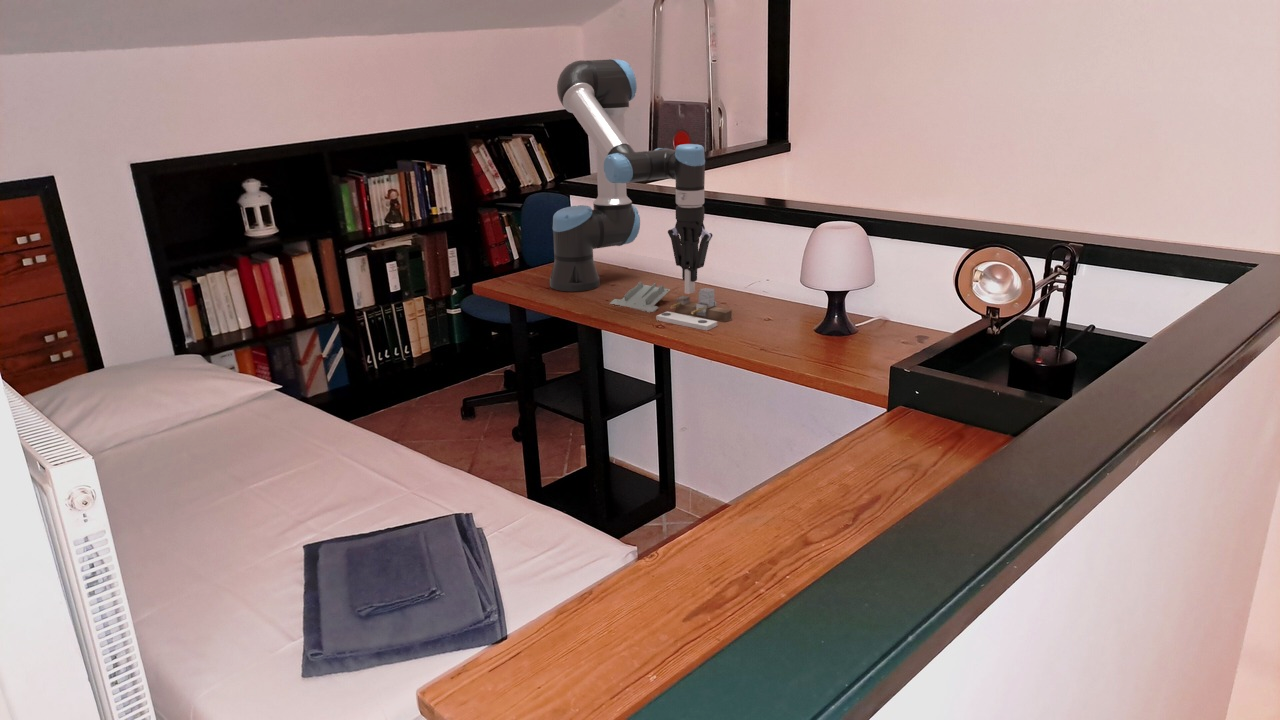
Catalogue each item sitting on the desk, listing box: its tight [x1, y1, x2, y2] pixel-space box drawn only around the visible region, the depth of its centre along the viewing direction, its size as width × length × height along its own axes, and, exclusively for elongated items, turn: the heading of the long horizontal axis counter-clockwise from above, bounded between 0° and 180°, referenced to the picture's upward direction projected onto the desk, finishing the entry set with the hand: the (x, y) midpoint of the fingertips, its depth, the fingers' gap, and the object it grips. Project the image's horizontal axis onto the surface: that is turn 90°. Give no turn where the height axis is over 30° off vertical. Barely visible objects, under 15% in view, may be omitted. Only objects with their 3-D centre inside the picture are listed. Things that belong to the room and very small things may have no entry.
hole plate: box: [655, 311, 718, 331], centre depth 240 cm, size 16×5×1 cm, turn 53°
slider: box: [691, 287, 717, 317], centre depth 242 cm, size 3×9×7 cm, turn 143°
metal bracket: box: [609, 281, 671, 313], centre depth 258 cm, size 14×6×15 cm
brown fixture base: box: [669, 295, 733, 323], centre depth 244 cm, size 16×7×4 cm, turn 53°
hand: (689, 292), depth 246 cm, fingers closed
